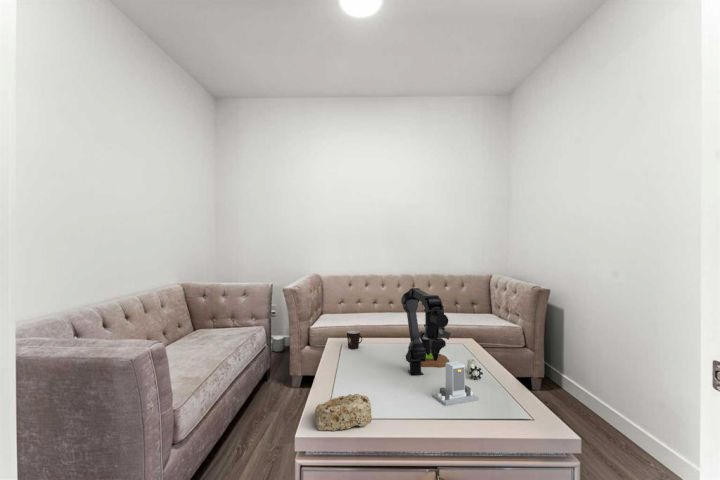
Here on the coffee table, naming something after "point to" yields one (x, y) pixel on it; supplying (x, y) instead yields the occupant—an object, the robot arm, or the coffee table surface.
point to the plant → (431, 363)
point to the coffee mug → (353, 339)
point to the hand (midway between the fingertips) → (431, 357)
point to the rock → (343, 412)
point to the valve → (473, 369)
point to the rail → (454, 397)
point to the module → (455, 378)
